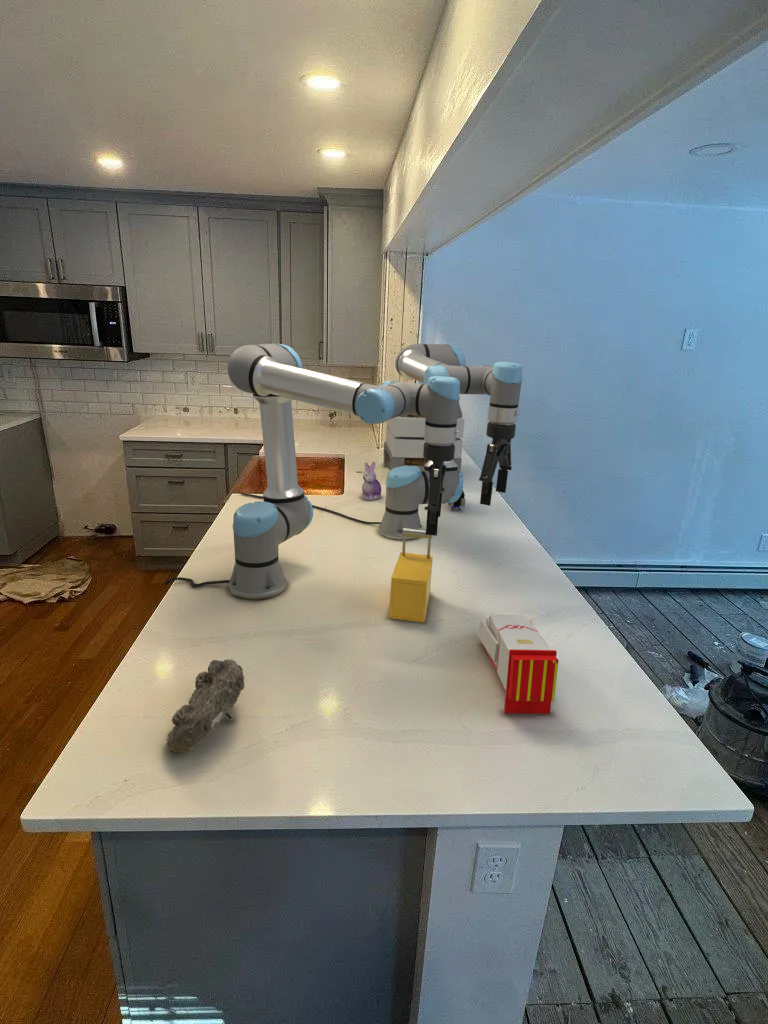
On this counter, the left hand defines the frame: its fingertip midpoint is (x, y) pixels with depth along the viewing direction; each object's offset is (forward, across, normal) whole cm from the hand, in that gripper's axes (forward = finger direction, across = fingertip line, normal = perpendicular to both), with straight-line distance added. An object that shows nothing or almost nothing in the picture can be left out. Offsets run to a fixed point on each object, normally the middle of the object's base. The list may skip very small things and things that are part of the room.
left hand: (433, 525), depth 144 cm
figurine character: (+24, +85, -4) cm, 88 cm away
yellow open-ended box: (+24, 0, +4) cm, 24 cm away
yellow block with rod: (+13, 0, +4) cm, 14 cm away
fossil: (+24, -52, +37) cm, 68 cm away
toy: (+24, -25, -21) cm, 40 cm away
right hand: (-3, +19, -15) cm, 24 cm away
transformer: (+24, +130, +14) cm, 133 cm away
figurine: (+24, +87, +31) cm, 95 cm away
